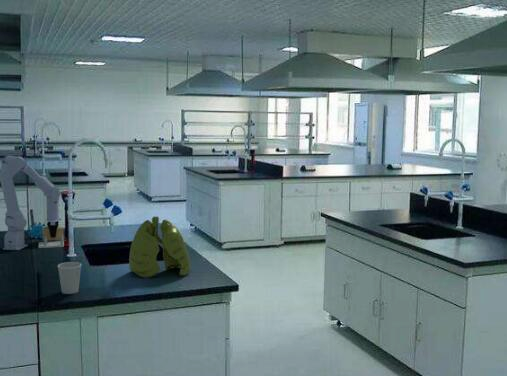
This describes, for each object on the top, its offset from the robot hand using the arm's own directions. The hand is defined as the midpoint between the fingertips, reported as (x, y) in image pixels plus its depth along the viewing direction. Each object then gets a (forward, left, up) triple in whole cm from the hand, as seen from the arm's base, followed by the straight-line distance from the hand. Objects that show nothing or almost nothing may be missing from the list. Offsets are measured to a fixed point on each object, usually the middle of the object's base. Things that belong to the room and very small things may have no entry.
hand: (53, 236), depth 282 cm
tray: (-8, -4, -3) cm, 9 cm away
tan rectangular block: (0, 0, -2) cm, 2 cm away
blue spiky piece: (+8, +11, -3) cm, 14 cm away
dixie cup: (-77, -42, -3) cm, 88 cm away
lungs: (-47, -68, -3) cm, 83 cm away
